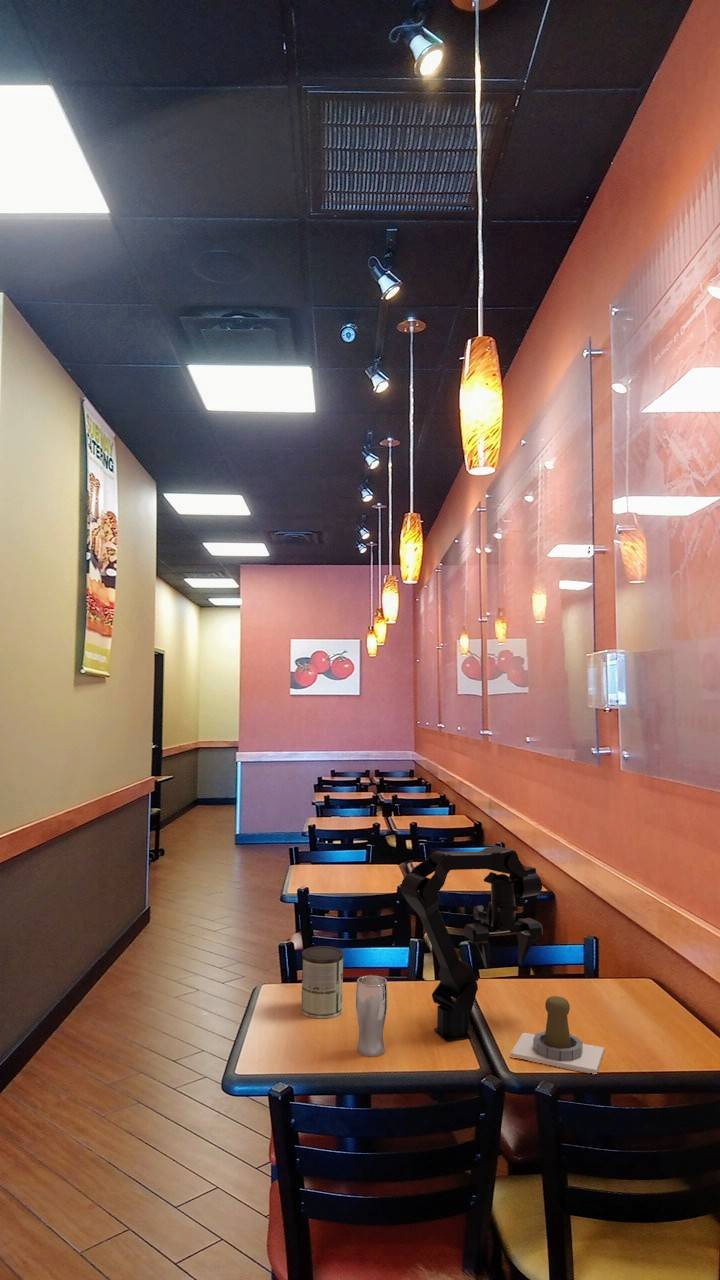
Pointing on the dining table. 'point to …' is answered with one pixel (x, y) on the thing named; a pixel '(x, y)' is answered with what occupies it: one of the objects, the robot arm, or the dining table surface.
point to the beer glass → (371, 1014)
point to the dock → (559, 1053)
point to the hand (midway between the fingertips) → (503, 966)
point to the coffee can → (322, 982)
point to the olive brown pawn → (557, 1023)
